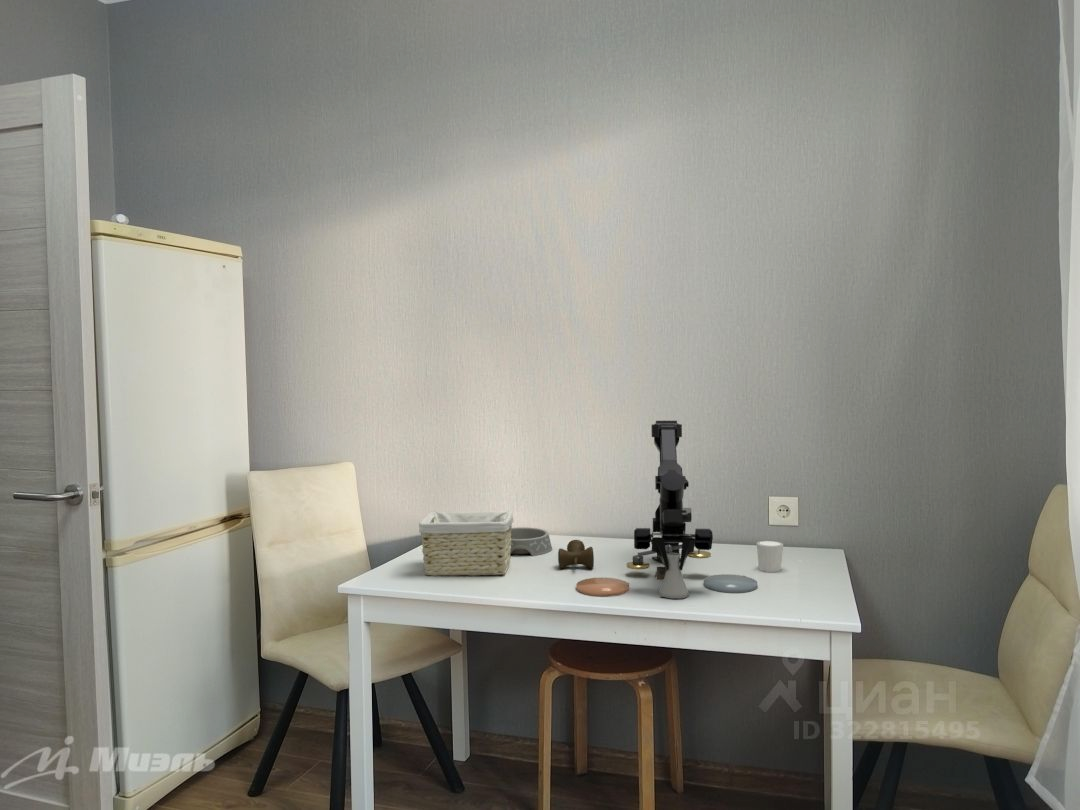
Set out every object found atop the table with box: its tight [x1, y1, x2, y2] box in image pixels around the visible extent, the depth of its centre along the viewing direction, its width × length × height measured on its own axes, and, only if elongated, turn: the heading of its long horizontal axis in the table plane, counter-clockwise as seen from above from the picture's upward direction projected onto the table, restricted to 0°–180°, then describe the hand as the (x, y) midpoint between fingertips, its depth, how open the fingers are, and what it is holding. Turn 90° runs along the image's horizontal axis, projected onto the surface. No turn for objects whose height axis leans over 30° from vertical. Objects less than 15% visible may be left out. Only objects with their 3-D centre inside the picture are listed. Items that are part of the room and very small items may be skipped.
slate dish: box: [703, 574, 758, 594], centre depth 205 cm, size 13×13×1 cm
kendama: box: [557, 539, 595, 570], centre depth 227 cm, size 6×10×20 cm
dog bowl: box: [510, 526, 553, 557], centre depth 245 cm, size 17×18×5 cm
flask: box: [658, 552, 690, 599], centre depth 197 cm, size 7×7×10 cm
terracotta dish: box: [575, 577, 630, 597], centre depth 203 cm, size 13×13×1 cm
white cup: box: [756, 540, 784, 573], centre depth 219 cm, size 7×7×7 cm
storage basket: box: [418, 510, 514, 577], centre depth 223 cm, size 24×16×15 cm
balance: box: [626, 543, 712, 581], centre depth 214 cm, size 22×8×9 cm, turn 81°
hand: (674, 569), depth 195 cm, fingers closed on flask, 3 cm apart
